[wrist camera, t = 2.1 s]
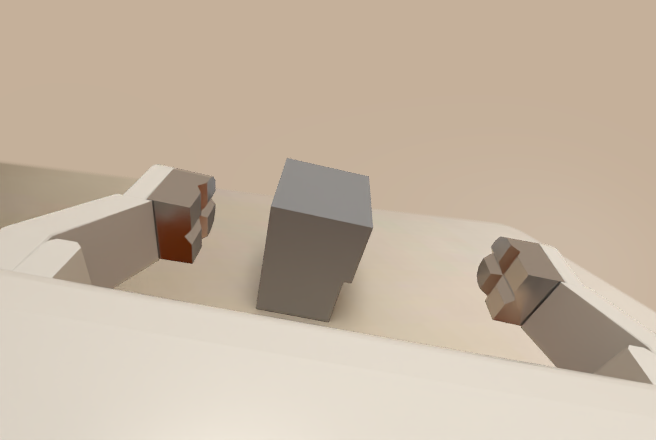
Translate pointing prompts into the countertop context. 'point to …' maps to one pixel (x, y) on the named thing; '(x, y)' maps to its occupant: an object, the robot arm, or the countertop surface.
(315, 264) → the grey block
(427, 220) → the countertop surface
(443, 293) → the countertop surface
